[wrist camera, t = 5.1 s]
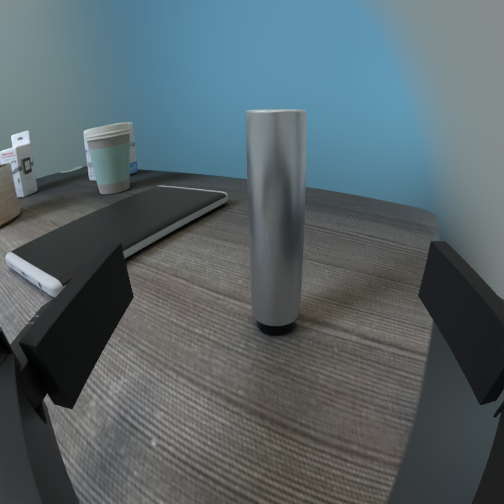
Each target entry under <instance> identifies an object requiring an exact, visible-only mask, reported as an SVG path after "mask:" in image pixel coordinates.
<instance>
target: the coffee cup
mask: <svg viewBox="0 0 504 504" xmlns="http://www.w3.org/2000/svg"><path fill="white" fill-rule="evenodd" d="M130 133H131V131H130V128H129V126H128V123H127V122H125V123H118V124H112V125H106V126H101V127H96V128H91V129H88V130H87V134H86V137H85V138H86V140H85V141H87V144H88V148H89V153H90V157H91V161H92V165H93V169H94V173H95V177H96V180H97V184H98V188H99V191H100V193H101V194H114V193H119V192H122V191H125V190H127V189H129V188H130Z"/></svg>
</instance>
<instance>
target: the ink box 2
mask: <svg viewBox="0 0 504 504" xmlns="http://www.w3.org/2000/svg"><path fill="white" fill-rule="evenodd" d="M128 126H129V128H130V131H131V133H130V174H133V173H136V172H138V169H137V162H136V154H135V144H134V133H133V123H132V122H131V123H128ZM86 134H87V131H84V140H86V138H85V137H86ZM85 149H86V158H87V165H88V172H89V179H90V180H95V181H97V180H96V177H95V173H94V169H93V165H92V161H91V157H90V153H89V148H88V144H87V141H85Z"/></svg>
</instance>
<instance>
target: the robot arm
mask: <svg viewBox="0 0 504 504" xmlns="http://www.w3.org/2000/svg"><path fill="white" fill-rule="evenodd" d="M418 296H419V298H420V299H421V301H422V302H423V304H424V306H425V307H426V309H427V310H428V312H429V314H430V315H431V317H432V318H433V320H434V322H435V323H436V325H437V327H438V328H439V330H440V332H441V333H442V335H443V337H444V338H445V340H446V342H447V344H448V345H449V347H450V349H451V351H452V352H453V354H454V356H455V358H456V359H457V362H458V363H459V365H460V367H461V369H462V371H463V373H464V374H465V376H466V378H467V380H468V382H469V384H470V386H471V388H472V390H473V392H474V394H475V396H476V398H477V400H478V402H479V404H480V405H483V404H486V403H490V402H493V401H496V400H497V398H498V397H499V395H500V394H501V392H502V391H503V389H504V300H503V299H502V298H500V297H499V296H497V295H496V293H495V292H494V291H493V290H492V289H491V288H490V287H489V286H488V285H487V284H486V283H485V281H484V280H483V279H482V278H481V277H480V276H479V275H478V274H477V273H476V272H475V271H474V270H473V269H472V268H471V267H470V265H469V264H467V262H466V261H465V260H464V259H463V258H462V257H461V256H460V255H459V254H458V253H457V252H456V251H455V250H454V249H453V248H452V247H451V246H450V245H448V244H447V243H446V242H445V241H431V244H430V248H429V253H428V258H427V262H426V267H425V271H424V275H423V279H422V283H421V287H420V291H419V294H418ZM133 297H134V296H133V292H132V288H131V284H130V280H129V276H128V271H127V267H126V262H125V258H124V253H123V248H122V244H121V243H105V244H104V245H103V246H102V247H101V248H100V250H99V251H98V252H97V253H96V254H95V255H94V256H93V257H92V258H91V259H90V260H89V261H88V262H87V263H86V264H85V265H84V266H83V267H82V268H81V270H80V271H79V272H78V273H77V274H76V275H75V276H74V277H73V278H72V279H71V280H70V282H69V283H68V284H67V285H66V286H65V287H64V288H63V289H62V291H61V292H60V293H59V294H58V295H57V296H56V297H55V299H52V300H51V301H49V302H48V303H46V304H45V305H43V306H42V307H41V308H40V309H39V311H38V312H37V313H36V314H35V317H33V318H32V319H31V320H30V321H29V324H27V325H26V326H25V327H24V329H23V330H22V331H21V332H20V333H19V335H18V336H17V337H16V338H15V340H14V341H13V342H12V343H11V345H10V344H9V342H8V340H7V338H6V336H5V334H4V332H3V330H2V328H1V327H0V504H80V503H79V501H78V499H77V496H76V494H75V491H74V489H73V486H72V484H71V481H70V479H69V476H68V473H67V471H66V468H65V465H64V462H63V459H62V457H61V454H60V451H59V447H58V444H57V441H56V438H55V434H54V431H53V428H52V424H51V420H50V417H49V413H48V409H47V406H46V404H45V402H44V401H43V399H44V398H45V396H46V394H48V395H49V397H50V398H51V400H52V401H53V403H54V404H55V405H58V406H62V407H66V408H69V409H73V407H74V405H75V403H76V401H77V399H78V397H79V395H80V393H81V391H82V389H83V387H84V385H85V383H86V381H87V379H88V377H89V375H90V374H91V372H92V370H93V368H94V366H95V364H96V362H97V361H98V359H99V357H100V355H101V353H102V351H103V350H104V348H105V346H106V344H107V342H108V341H109V339H110V337H111V335H112V333H113V332H114V330H115V328H116V326H117V325H118V323H119V321H120V320H121V318H122V316H123V314H124V313H125V311H126V309H127V308H128V306H129V304H130V302H131V301H132V299H133ZM500 412H501V416H500V418H499V419H500V420H499V424H498V428H497V432H496V435H495V439H494V443H493V446H492V449H491V453H490V456H489V459H488V462H487V465H486V468H485V471H484V474H483V476H482V479H481V482H480V484H479V487H478V490H477V492H476V495H475V497H474V500H473V502H472V504H504V401H503V403H502V404H501V406H500V407H499V409H498V410H497V411H496V413H495V414H494V416H493V417H497V415H498V414H499V413H500Z"/></svg>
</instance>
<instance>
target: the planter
mask: <svg viewBox="0 0 504 504" xmlns="http://www.w3.org/2000/svg"><path fill="white" fill-rule="evenodd" d="M19 213H20V206H19V202H18V198H17V193H16V189H15V184H14V179H13V174H12V168H11V163H6V164H2V165H0V228H1V227H3V226H5V225H7V224H9V223H10V222H12V221H13V220H15V219H16V218H17V217H18V215H19Z"/></svg>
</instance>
